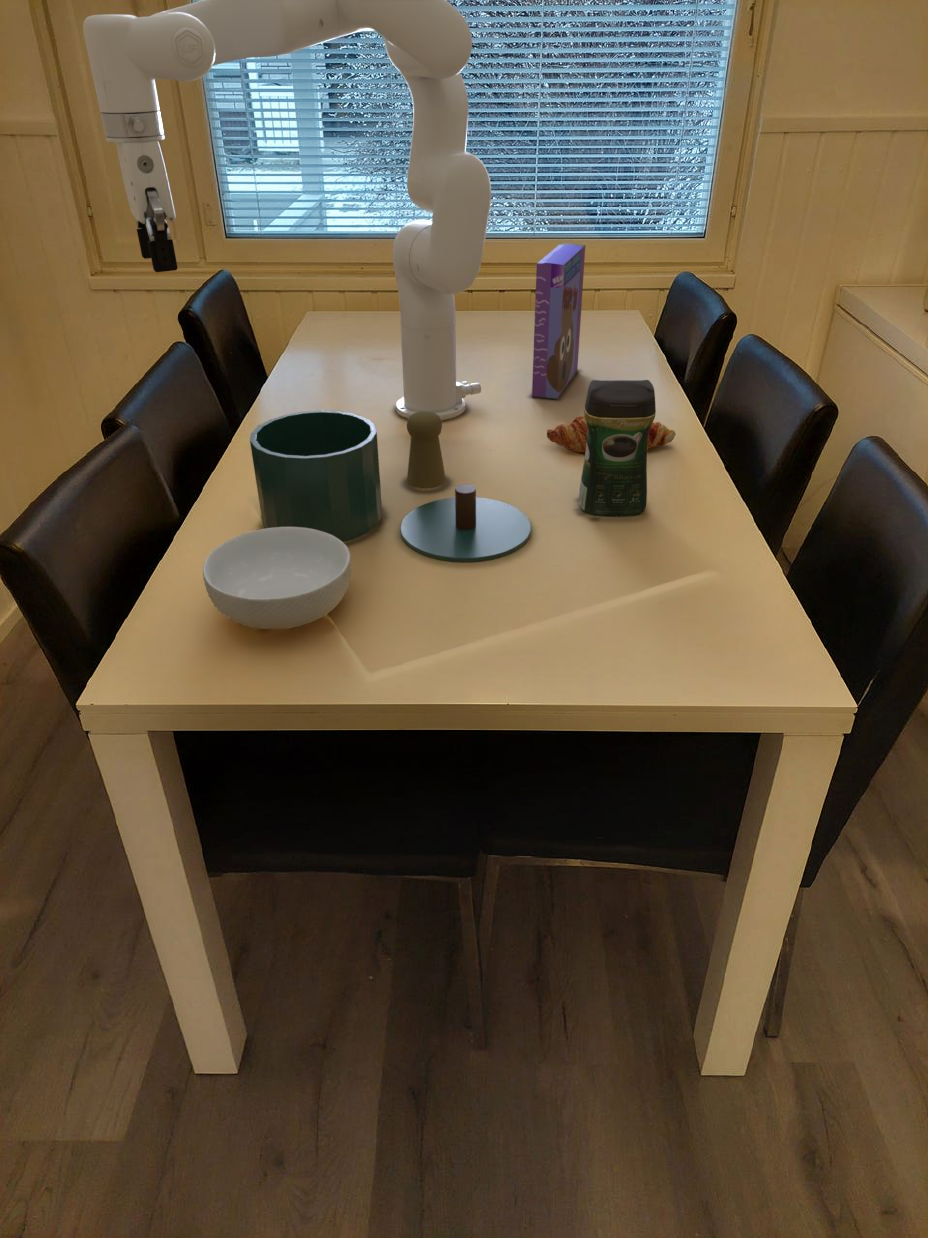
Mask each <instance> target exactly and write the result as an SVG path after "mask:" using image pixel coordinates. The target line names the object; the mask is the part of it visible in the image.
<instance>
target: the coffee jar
mask: <svg viewBox="0 0 928 1238" xmlns="http://www.w3.org/2000/svg"><path fill="white" fill-rule="evenodd" d="M655 393H656V391H655V387H654V385H653V383H652V382H651V381H650V380H649V379H641V380H639V379H638V380H635V379H634V380H633V379H631V380H626V379H621V380H617V379H616V380H612V379H611V380H602V379H601V380H600V379H599V380H598V379H592V380H590V382H589V384H588V386H587V392H586V398H585V401H584V402H585V403H584V406H583V416H584V417H585V420H586V423H587V444H586V453H585V452H584V453H585V454H584V459H583V466H582V472H581V478H580V484H579V492H578V506H579V508H580V510H581V511H582V512H584V513H585V514H587V515H589V516H594V517H595V516H596V517H609V518H610V517H613V518H617V517H618V518H619V517H620V518H621V517H623V518H624V517H637V516H639V515H641V514H642V513H644V512H645V510H646V509H647V503H648V502H647V501H648V473H647V472H648V469H647V467H648V465H647V464H648V463H647V462H648V449H647V442H648V433H649V429H650V426H651V425H652V423H654V421H655V418H656V414H657V409H656V394H655Z"/></svg>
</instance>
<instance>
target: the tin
mask: <svg viewBox="0 0 928 1238" xmlns="http://www.w3.org/2000/svg"><path fill="white" fill-rule="evenodd" d="M249 443H250V450H251V456H252V463H253V470H254V476H255V484H256V489H257V494H258V497H257V498H258V502H259V509H260V515H261V522H262V526H263V529H266V528H274V527H302V528H310V529H315V530H319V531H322V532H325V533H328V534H330V535H333V536H335V537H336V538H338V539H339V540H341V541H342V542H343V543H344V542H348V541H353V540H355V539H358V538H360V537H361V536H364V535H366V534H369V532H371V531H372V530H374V529H375V528H376V527H377V526H378V525H379V524H380V521H381V520H382V517H383V505H382V489H381V488H382V487H381V475H380V460H379V444H378V432H377V427H376V424H374V423H373V422H372V421H371V420H370V419H368V418H367V417H364V416H362V415H359V414H356V413H353V412H347V411H341V410H323V409H321V410H319V409H318V410H309V411H308V410H307V411H297V412H294V413H287V414H284V415H283V414H282V415H281V416H277V417H273V418H271V419H268V420H266V421H265V422H262V423H261V424H259V425H257V426H256V427H255V428H254V430H252V431H251V433H250V437H249Z"/></svg>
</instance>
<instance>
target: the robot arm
mask: <svg viewBox="0 0 928 1238" xmlns="http://www.w3.org/2000/svg"><path fill="white" fill-rule="evenodd" d="M364 31H374V32H375V33H377V34H378V35H380V36H381V37H382V38H383V39H384V47H385V52H386V54H387V56H388V58H389V61H390V62H391V63H392V65H393V67H395V69H396V70H397V71H398V72H399V73H400V74H401V76H402V77H403V80H405V83H406V85H407V87H408V89H409V92H410V95H411V99H412V109H413V110H412V112H413V115H412V116H413V117H412V132H411V142H410V150H409V158H408V159H409V160H408V168H407V177H406V188H407V193H408V196H409V199H410V200H411V202H412V203H413V204H414V205H415V206H416V207H418V208H419V209H421V210H423V211H425V212H427V213H431V214H432V217H431V218H432V220H426V219H417V220H412V221H410V222H408V223H406V224H404V225H403V226H402V227H401V229H400V230H398V232H397V234H396V236H395V237H394V241H393V245H392V255H391V256H392V257H391V258H392V266H393V271H394V276H395V282H396V286H397V287H396V288H397V293H398V304H399V318H400V320H399V321H400V322H399V323H400V324H399V325H400V342H401V343H400V344H401V346H400V347H401V364H402V365H401V366H402V385H403V388H402V389H403V396H402V397H401V398H399V399H398V400H396V402H395V411H396V413H397V414H398V415H399V416H400V417H403V418H406V419H408V418H409V417H410V416H411V415H412V414H414V413H416V412H421V411H429V412H433V413H436V414H437V415H438V416H439V417H440V419H441V421H446V420H450V419H454V418H457V417H459V416H460V415H462V414H463V413H464V412H465V410H466V401H465V399H464V398H466V397H467V396H469V395H471V396H472V395H476V394H477V395H478V394H480V393H481V392H482V386H481V383H480V382H475V383H468V381H467V380H466V381H460V382H459V381H457V328H456V323H457V315H456V313H457V312H456V301H455V295H458V294H462V293H464V292H465V291H467V290H468V289H469V288H470V287H471V286H472V285H473V284H474V282H475V281H476V279H477V277H478V275H479V272H480V269H481V266H482V260H483V255H484V250H485V244H486V236H487V229H488V223H489V216H490V211H491V210H490V209H491V202H492V186H491V185H492V184H491V178H490V175H489V172H488V170H487V167H486V166H485V164H484V163H483V161H482V160H481V159H480V158H478V157H477V156H476V155H475V154H472V153H470V152H469V151H466V150H467V149H466V148H467V139H468V125H469V98H468V97H469V96H468V92H467V88H466V85H465V81H464V79H463V75H462V73H461V72H462V71H463V69H465V67H466V66H467V64H468V62H469V60H470V58H471V54H472V49H473V39H472V33H471V29H470V26H469V24H468V22H467V20H466V19H465V17H464V16H463V15H462V13H461V12H460V11H459V10H458V8H456V7H455V6H453V4H451V3H450V2H449V1H448V0H198V1H195V2H191V3H189V4H185V5H181V6H178V7H174V8H170V9H166V10H163V11H160V12H157V13H154V14H152V15H150V16H136V15H133V14H123V13H122V14H121V13H120V14H119V13H117V14H116V13H115V14H114V13H113V14H112V13H110V14H109V13H107V14H106V13H105V14H104V13H103V14H93V15H92V14H91V15H89V16H86V18H85V19H84V21H83V25H82V32H83V38H84V42H85V46H86V47H85V48H86V51H87V52H86V53H87V57H88V61H89V66H90V72H91V76H92V81H93V86H94V89H95V90H94V91H95V94H96V99H97V104H98V108H99V113H100V119H101V123H102V128H103V133H104V137H105V142H107V143H115V147H116V150H117V151H116V152H117V157H118V163H119V167H120V172H121V177H122V182H123V186H124V190H125V194H126V199H127V203H128V206H129V210H130V213H131V215H132V216H133V217H134V218H135V224H136V227H137V228H136V233H137V238H138V245H139V246H140V247H139V249H140V253H141V257H142V258H143V259H144V260H145V259H146V260H149V259H151V264H152V270H153V271H154V272H155V273H164V272H173V271H174V272H175V271H177V270H178V268H179V267H178V262H177V256H176V252H175V251H176V250H175V244H174V240H173V238H172V234H171V230H170V227H169V223H168V221H170V222H171V223H172V222H175V221H176V218H177V214H176V210H175V205H174V201H173V196H172V192H171V187H170V181H169V177H168V172H167V168H166V163H165V160H164V156H163V152H162V148H161V145H160V142H159V141H164V140H165V139H166V137H165V131H164V125H163V120H162V114H161V108H160V102H159V97H158V91H157V86H156V79H163V80H171V81H172V80H173V81H179V82H195V81H197V80H200V79H202V78H203V77H205V76H206V75H207V74H208V73H209V72H210V70H211V69H212V67H214V66H217V65H222V64H225V63H229V62H234V61H239V60H243V59H251V58H252V59H253V58H269V57H271V58H272V57H277V56H283V55H287V54H291V53H294V52H297V51H300V50H303V49H304V50H305V49H307V48H310V47H313V46H317V45H319V44H323V43H325V42H329V41H332V40H336V39H339V38H342V37H346V36H348V35H352V34H354V33H358V32H364ZM167 220H168V221H167Z"/></svg>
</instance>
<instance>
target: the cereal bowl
mask: <svg viewBox="0 0 928 1238" xmlns="http://www.w3.org/2000/svg"><path fill="white" fill-rule="evenodd" d="M351 559H352V557H351V552H350V550H349V548H348V546H347V545H346V544H345V543H344V542H342V541H341V540H339V539H338V538H336V537H335V536H333V535H330V534H328V533H325V532H322V531H319V530H315V529H310V528H302V527H274V528H266V529H264V528H260V529H255V530H251V531H248V532H244V533H241V534H238V535H236V536H234V537H231V538H230V539H228V540H225V541H224V542H222V543H220V544H219V545H217V547H215V548H214V549H213V550H212V551H211V552H210V553H209V554H208V555H207V556H206V558H205V560H204V562H203V566H202V576H203V577H202V578H203V582H204V586H205V591H206V593H207V595H208V597H209V599H210V602H211V603H212V604H213V606H214V607H215V608H216V609H217V610H218V611H219V612H220V613H221V614H222V615H224V616H225V617H226V618H228V619H230V620H231V621H232V622H235V623H236V624H240V625H242V626H245V627H249V628H253V629H259V630H283V629H291V628H297V627H301V626H304V625H308V624H310V623H313V622H314V621H318V620H319V619H321V618H323V617H325V616H326V615H328V614H329V613H331V612H332V611H334V609H335V608H336V607H337V606H338V605H339V604H340V603H341V601H342V600H343V598H344V596H346V593H347V591H348V588H349V586H350V582H351V575H352V574H351V573H352V560H351Z"/></svg>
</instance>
